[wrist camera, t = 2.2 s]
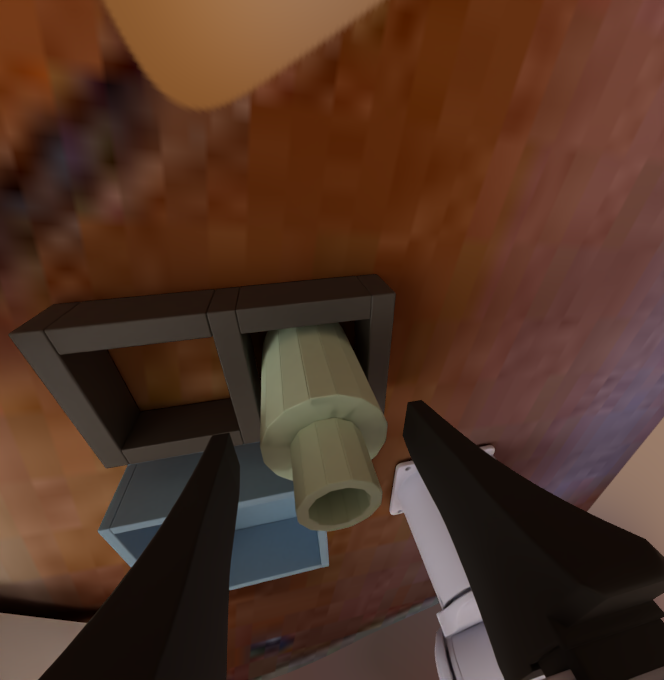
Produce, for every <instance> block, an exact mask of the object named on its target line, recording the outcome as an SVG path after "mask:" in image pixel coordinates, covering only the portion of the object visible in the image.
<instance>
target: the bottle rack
mask: <svg viewBox="0 0 664 680" xmlns="http://www.w3.org/2000/svg"><path fill="white" fill-rule="evenodd" d="M395 297H396V294H395V292H394V291H393V290H392V289H391V288H390V287H389V286H388V285H387V284H386V283H385V282H384V281H383V280H382V279H381V278H380V277H379V276H378V275H376V274H373V275H363V276H349V277H338V278H328V279H317V280H306V281H296V282H285V283H274V284H264V285H253V286H242V287H241V288H240V287H234V288H223V289H216V291H215V290H214V289H213V290H202V291H192V292H181V293H170V294H160V295H149V296H138V297H128V298H117V299H106V300H96V301H85V302H74V303H64V304H53V305H52V306H50V307H49V308H47V309H46V310H44V311H42V312H41V313H39V314H38V315H36V316H35V317H33V318H32V319H30V320H29V321H27V322H26V323H24V324H23V325H21V326H20V327H18V328H17V329H15V330H14V331H12V332H11V333H9V337H10V338H11V339H12V341H13V342H14V344H15V345H16V346H17V348H18V349H19V350H20V352H21V353H22V354H23V356H24V357H25V359H26V360H27V361H28V363H29V364H30V365H31V367H32V368H33V369H34V371H35V372H36V374H37V375H38V376H39V378H40V379H41V380H42V382H43V383H44V384H45V386H46V387H47V389H48V390H49V391H50V393H51V394H52V395H53V397H54V398H55V399H56V401H57V402H58V404H59V405H60V406H61V408H62V409H63V410H64V412H65V413H66V415H67V416H68V417H69V419H70V420H71V421H72V423H73V424H74V425H75V427H76V428H77V430H78V431H79V432H80V434H81V435H82V436H83V438H84V439H85V440H86V442H87V443H88V445H89V446H90V447H91V449H92V450H93V451H94V453H95V454H96V455H97V457H98V458H99V460H100V461H101V462H102V464H103V465H104V466H105V468H112V467H117V466H123V465H128V464H135V463H141V462H147V461H152V460H158V459H164V458H170V457H175V456H181V455H187V454H192V453H198V452H204V450H205V448H206V446H207V444H208V442H209V440H210V438H211V437H212V436H213V435H218V434H224V433H230V436H231V439H232V442H233V445H234V446H238V445H243V444H249V443H254V442H260V423H261V384H260V380H259V375H258V370H257V365H256V360H255V355H254V351H253V346H252V341H251V336H250V333H253V332H261V331H269V330H278V329H286V328H295V327H303V326H312V325H320V324H329V323H337V322H346V321H354V320H355V355H356V357H357V359H358V362H359V364H360V366H361V368H362V370H363V372H364V374H365V376H366V379H367V381H368V383H369V385H370V387H371V389H372V391H373V393H374V396H375V398H376V400H377V402H378V404H379V406H380V408H381V410H382V413H383V415H384V408H385V398H386V388H387V378H388V368H389V358H390V348H391V337H392V327H393V317H394V307H395ZM212 336H213V338H214V342H215V345H216V349H217V352H218V355H219V359H220V362H221V366H222V369H223V373H224V376H225V380H226V383H227V386H228V390H229V393H230V397H231V399H224V400H217V401H211V402H204V403H197V404H191V405H184V406H177V407H171V408H164V409H157V410H151V411H144V412H141V413H140V411H139V409H138V408H137V406H136V404H135V402H134V400H133V398H132V396H131V395H130V393H129V391H128V389H127V387H126V385H125V383H124V381H123V380H122V378H121V376H120V374H119V372H118V370H117V368H116V367H115V365H114V363H113V361H112V359H111V357H110V355H109V354H108V352H107V350H106V349H114V348H123V347H131V346H140V345H148V344H157V343H165V342H174V341H182V340H191V339H199V338H208V337H212Z"/></svg>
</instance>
